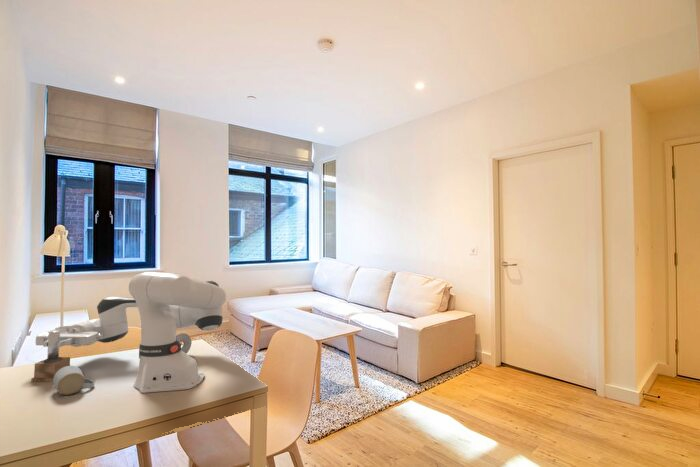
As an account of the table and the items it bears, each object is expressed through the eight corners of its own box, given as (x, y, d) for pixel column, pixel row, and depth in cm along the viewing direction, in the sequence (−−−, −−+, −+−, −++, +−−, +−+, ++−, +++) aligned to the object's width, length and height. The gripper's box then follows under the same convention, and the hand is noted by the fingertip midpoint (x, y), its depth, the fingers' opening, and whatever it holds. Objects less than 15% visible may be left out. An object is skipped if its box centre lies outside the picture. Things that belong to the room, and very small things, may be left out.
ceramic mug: (56, 399, 108) (58, 374, 109) (51, 391, 114) (53, 368, 114) (97, 389, 116) (98, 366, 116) (91, 383, 122) (92, 361, 122)
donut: (172, 360, 145) (173, 336, 146) (167, 359, 147) (168, 335, 147) (192, 354, 154) (193, 331, 155) (187, 352, 156) (188, 330, 156)
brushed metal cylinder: (61, 357, 128) (62, 330, 128) (54, 360, 125) (55, 332, 125) (52, 357, 128) (53, 330, 128) (44, 360, 124) (46, 332, 125)
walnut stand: (71, 372, 130) (72, 355, 130) (54, 381, 122) (55, 362, 122) (49, 372, 130) (50, 355, 130) (31, 381, 122) (32, 363, 122)
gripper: (105, 342, 140) (80, 353, 126) (53, 342, 139) (22, 353, 125) (106, 326, 140) (81, 335, 126) (53, 326, 139) (23, 335, 125)
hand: (51, 344), depth 125 cm, fingers closed on brushed metal cylinder, 3 cm apart
